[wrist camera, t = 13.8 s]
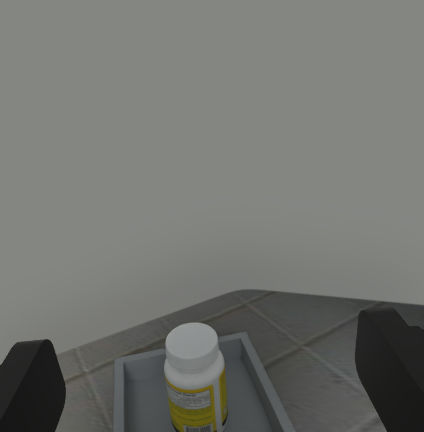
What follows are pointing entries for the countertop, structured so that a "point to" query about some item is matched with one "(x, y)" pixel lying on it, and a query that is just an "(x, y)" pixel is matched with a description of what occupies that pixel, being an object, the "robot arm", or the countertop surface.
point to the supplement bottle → (195, 379)
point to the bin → (235, 386)
